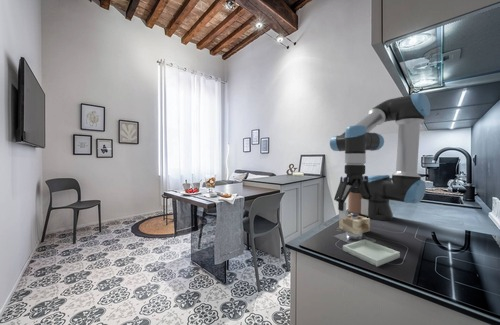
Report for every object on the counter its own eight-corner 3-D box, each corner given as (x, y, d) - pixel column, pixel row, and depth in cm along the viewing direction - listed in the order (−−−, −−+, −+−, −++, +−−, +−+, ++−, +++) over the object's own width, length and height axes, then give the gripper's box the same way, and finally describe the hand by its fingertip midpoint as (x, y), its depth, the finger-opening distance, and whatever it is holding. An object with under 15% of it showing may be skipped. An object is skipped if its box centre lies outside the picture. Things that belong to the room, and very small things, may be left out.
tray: (364, 243, 81) (364, 239, 81) (399, 257, 70) (399, 252, 70) (342, 250, 75) (342, 245, 75) (377, 266, 64) (377, 260, 64)
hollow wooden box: (352, 225, 90) (352, 213, 90) (372, 231, 82) (372, 219, 82) (339, 228, 87) (339, 216, 87) (359, 235, 79) (359, 222, 78)
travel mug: (369, 233, 91) (369, 188, 91) (350, 232, 93) (351, 187, 92) (363, 227, 99) (364, 185, 98) (346, 226, 100) (346, 185, 100)
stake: (351, 232, 93) (351, 208, 92) (375, 241, 83) (376, 215, 82) (333, 237, 88) (333, 212, 87) (357, 247, 78) (357, 219, 77)
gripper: (365, 163, 93) (364, 211, 94) (325, 164, 82) (324, 217, 82) (382, 164, 87) (381, 215, 87) (341, 164, 75) (340, 223, 76)
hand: (353, 216), depth 85 cm, fingers open, 13 cm apart
